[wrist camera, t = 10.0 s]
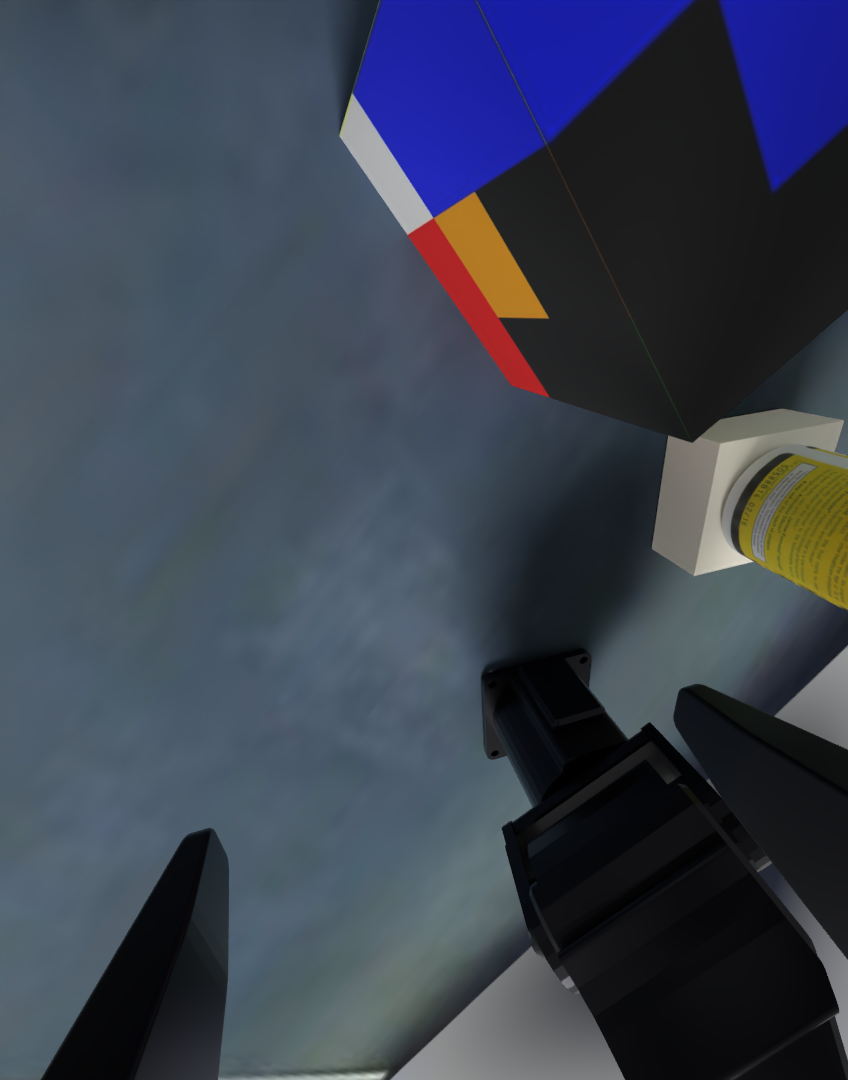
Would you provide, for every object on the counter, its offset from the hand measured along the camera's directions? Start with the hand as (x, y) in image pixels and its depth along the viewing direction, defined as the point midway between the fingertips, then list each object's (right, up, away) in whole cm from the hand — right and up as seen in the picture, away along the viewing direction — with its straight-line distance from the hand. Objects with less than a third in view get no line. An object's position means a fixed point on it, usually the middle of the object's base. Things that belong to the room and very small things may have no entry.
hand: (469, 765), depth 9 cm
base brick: (+14, +7, +16) cm, 22 cm away
